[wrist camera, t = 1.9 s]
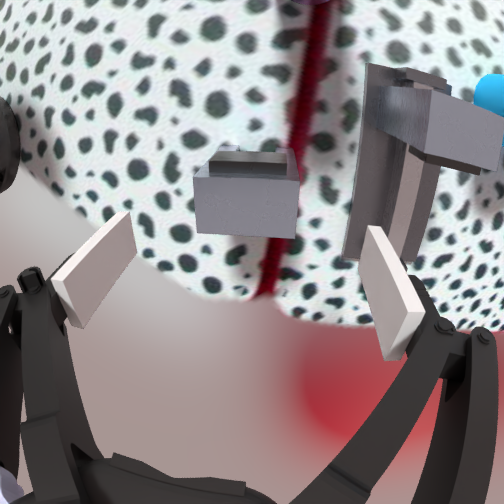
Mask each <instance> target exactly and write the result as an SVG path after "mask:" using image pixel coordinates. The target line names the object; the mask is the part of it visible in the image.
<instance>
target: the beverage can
mask: <svg viewBox="0 0 504 504" xmlns="http://www.w3.org/2000/svg"><path fill="white" fill-rule="evenodd" d="M291 1H293V2H296V3H300V4H305V5H317V4H322V3H325V2H328V1H330V0H291Z"/></svg>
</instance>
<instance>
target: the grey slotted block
mask: <svg viewBox="0 0 504 504" xmlns="http://www.w3.org/2000/svg"><path fill="white" fill-rule="evenodd" d="M446 83H447V80H446V79H443V78H440V77H437V76H434V75H431V74H428V73H425V72H421V71H418V70H415V69H411V68H408V67H405V68H390V67H386V66H381V65H376V64H372V63H366V67H365V85H364V99H363V112H362V122H361V132H360V141H359V150H358V158H357V165H356V173H355V180H354V186H353V193H352V199H351V205H350V211H349V217H348V223H347V228H346V233H345V239H344V244H343V249H342V256H343V257H348V258H360V257H361V252H362V248H363V244H364V239H365V235H366V230H367V226H368V225H370V226H380V227H381V228H382V230H383V231H384V233H385V235H386V237H387V238H388V240H389V242H390V243H391V245H392V247H393V249H394V251H395V252H396V254H397V256H398V258H399V260H400V262H401V263H402V265H403V267H404V269H405V271H406V272H407V269H408V268H407V266H406V265H405V263H404V261H413V262H415V260H416V257H417V254H418V251H419V248H420V245H421V242H422V238H423V235H424V232H425V228H426V225H427V221H428V218H429V214H430V211H431V207H432V203H433V199H434V195H435V191H436V186H437V182H438V177H439V173H440V168H441V166H443V167H447V168H451V169H455V170H459V171H463V172H467V173H471V174H475V175H480V171H481V167H482V168H485V169H488V170H491V171H495V172H497V167H498V163H499V158H500V153H501V147H502V141H503V135H504V117H502V116H499V115H497V114H495V113H493V112H490V111H488V110H486V109H483V108H481V107H479V106H476V105H474V104H471V103H469V102H466V101H463V100H461V99H458V98H455V97H452V96H451V89H452V86H451V85H448V84H446Z"/></svg>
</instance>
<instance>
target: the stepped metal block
mask: <svg viewBox="0 0 504 504" xmlns="http://www.w3.org/2000/svg"><path fill="white" fill-rule="evenodd" d="M193 186H194V201H195V215H196V227H197V233H203V234H222V235H241V236H258V237H275V238H291V239H295V232H296V222H297V211H298V200H299V188H300V178H299V173H298V168H297V164H296V159H295V154H294V149H293V148H286V147H276V153H274V152H251V151H239V146H237V145H222V146H221V147H220V148H219V149H218V150H217V151H216V152H215V153H214V155H213V156H212V157H211V158H210V159H209V160H208V161H207V162H206V163H205V164H204V165H203V166H202V168H201V169H200V170H199V171H198V172H197V173H196V174H195V175H194V176H193Z"/></svg>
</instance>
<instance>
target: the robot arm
mask: <svg viewBox="0 0 504 504" xmlns="http://www.w3.org/2000/svg"><path fill="white" fill-rule="evenodd" d="M19 159H20V141H19V133H18V127H17V123H16V120H15V117H14V114H13V112H12V109H11V108H10V106H9V104H8V103H7V102H6V101H5V100H4V99H3V98H2V97H0V193H2V192H3V191H5V190H7V189H8V188H9V187H10V186H11V185H12V183H13V181H14V179H15V177H16V174H17V171H18V166H19ZM136 254H137V249H136V244H135V239H134V234H133V229H132V223H131V218H130V212H120V211H118V212H117V213H116V214H115V215H114V216H113V217H112V218H111V219H110V220H109V221H108V222H106V223H105V224H104V225H103V226H102V227H101V228H100V229H99V230H98V231H97V232H96V233H95V234H94V235H93V236H92V237H91V238H90V239H89V240H88V241H87V242H86V243H85V244H84V245H83V246H82V247H81V248H80V249H79V250H78V251H76V252H75V253H73V254H72V255H70V256H69V257H68V258H67V259H66V260H65V261H64V262H63V263H62V264H61V265H60V266H59V268H57V269H56V270H55V271H54V272H53V273H52V275H51V276H50V277H49V278H48V279H47V280H46V281H45V280H44V278H43V275H42V273H41V270H40V268H38V267H30V268H28V269H26V270H24V271H23V272H21V273H20V275H19V276H18V278H17V281H18V283H19V285H20V287H21V290H22V292H23V293H16V291H15V289H14V287H13V286H12V285H7V286H3V287H1V288H0V504H277V503H276V502H275V501H273V500H272V499H270V498H269V497H268V496H266V495H264V494H262V493H260V492H258V491H256V490H253V489H251V488H248V487H246V482H243V481H234V480H226V479H219V478H212V477H206V478H173V477H170V476H168V475H166V474H164V473H162V472H160V471H159V470H157V469H155V468H153V467H151V466H149V465H148V464H145V463H144V462H142V461H139V460H135V459H132V458H129V457H126V456H123V455H120V454H117V453H113V456H112V458H104V457H103V455H102V454H101V452H100V451H99V449H98V448H97V446H96V444H95V441H94V438H93V435H92V433H91V430H90V427H89V424H88V420H87V417H86V414H85V410H84V407H83V403H82V400H81V396H80V393H79V389H78V385H77V380H76V376H75V372H74V367H73V362H72V358H71V353H70V347H69V341H68V335H67V329H66V326H65V324H64V320H65V319H66V318H67V317H68V319H69V321H70V323H71V325H72V326H74V327H78V328H82V329H84V328H85V326H86V325H87V323H88V322H89V320H90V318H91V317H92V315H93V314H94V312H95V311H96V310H97V308H98V307H99V305H100V303H101V302H102V300H103V299H104V298H105V296H106V295H107V293H108V292H109V291H110V289H111V288H112V286H113V285H114V284H115V282H116V281H117V279H118V278H119V277H120V275H121V274H122V272H123V271H124V270H125V268H126V267H127V266H128V264H129V263H130V262H131V260H132V259H133V258H134V256H135V255H136ZM358 271H359V274H360V277H361V281H362V284H363V287H364V290H365V293H366V297H367V300H368V303H369V307H370V310H371V313H372V317H373V321H374V324H375V328H376V331H377V335H378V339H379V343H380V347H381V351H382V354H383V359H384V361H392V360H401V358H402V356H403V354H404V352H405V351H406V354H407V357H408V359H407V361H406V362H405V364H404V366H403V367H402V369H401V371H400V372H399V374H398V375H397V377H396V378H395V380H394V382H393V383H392V385H391V386H390V388H389V389H388V390H387V392H386V393H385V395H384V396H383V398H382V399H381V401H380V402H379V404H378V405H377V406H376V408H375V409H374V410H373V412H372V413H371V415H370V416H369V417H368V418H367V420H366V421H365V422H364V424H363V425H362V426H361V427H360V429H359V430H358V431H357V432H356V434H355V435H354V436H353V437H352V439H351V440H350V441H349V442H348V443H347V445H346V446H345V447H344V448H343V449H342V450H341V452H340V453H339V454H338V455H337V456H336V457H335V458H334V459H333V461H332V462H331V463H330V464H329V465H328V466H327V467H326V468H325V469H324V470H323V471H322V472H321V473H320V474H319V476H317V477H316V478H315V479H314V480H313V481H312V482H311V483H310V484H309V485H308V486H307V488H305V489H304V490H303V491H302V492H301V493H300V494H299V495H298V496H297V497H296V498H295V499H294V500H292V502H290V503H289V504H365V503H366V501H367V500H368V498H369V496H370V493H371V490H372V488H373V486H374V485H375V484H376V482H377V481H378V480H379V479H380V477H381V476H382V475H383V473H384V472H385V470H386V469H387V468H388V466H389V465H390V463H391V462H392V460H393V459H394V457H395V456H396V454H397V453H398V451H399V450H400V448H401V447H402V445H403V443H404V442H405V440H406V438H407V437H408V435H409V434H410V432H411V430H412V428H413V427H414V425H415V423H416V422H417V420H418V418H419V416H420V414H421V412H422V411H423V409H424V407H425V405H426V403H427V401H428V399H429V397H430V395H431V393H432V391H433V389H434V386H435V385H436V383H437V380H438V378H442V379H443V384H442V391H441V397H440V403H439V408H438V413H437V419H436V423H435V428H434V431H433V436H432V440H431V444H430V448H429V451H428V455H427V458H426V462H425V465H424V468H423V472H422V474H421V478H420V480H419V484H418V486H417V489H416V492H415V494H414V497H413V500H412V502H411V504H484V503H485V500H486V495H487V491H488V486H489V482H490V477H491V472H492V466H493V459H494V452H495V444H496V434H497V420H498V361H497V347H496V340H495V337H494V336H493V334H492V333H491V332H490V331H489V330H488V329H486V328H484V327H475V328H474V329H473V330H472V332H471V333H470V335H469V334H465V333H461V332H457V331H456V329H455V326H454V325H453V324H452V322H450V321H449V320H448V319H446V318H443V317H440V315H439V313H438V311H437V309H436V307H435V305H434V303H433V301H432V299H431V297H429V294H428V292H427V291H426V288H425V286H424V284H423V282H422V281H421V280H420V279H418V278H417V277H416V276H415V275H407V273H406V271H405V269H404V267H403V265H402V263H401V262H400V260H399V258H398V256H397V254H396V252H395V251H394V249H393V247H392V245H391V243H390V242H389V240H388V238H387V237H386V235H385V233H384V231H383V230H382V228H381V227H380V226H370V225H368V226H367V230H366V235H365V239H364V244H363V248H362V252H361V257H360V261H359V265H358ZM8 327H10V329H11V333H9V328H8ZM23 392H24V399H25V407H26V415H27V421H26V422H22V423H21V411H22V401H23V400H22V399H23ZM20 423H21V425H20ZM20 433H21V439H22V445H23V450H24V455H25V460H26V464H27V469H28V472H29V477H30V480H31V484H32V487H33V492H31V493H29V494H27V495H25V496H24V491H23V489H22V487H21V486H20V485H18V484H17V476H18V468H19V445H20Z"/></svg>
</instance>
